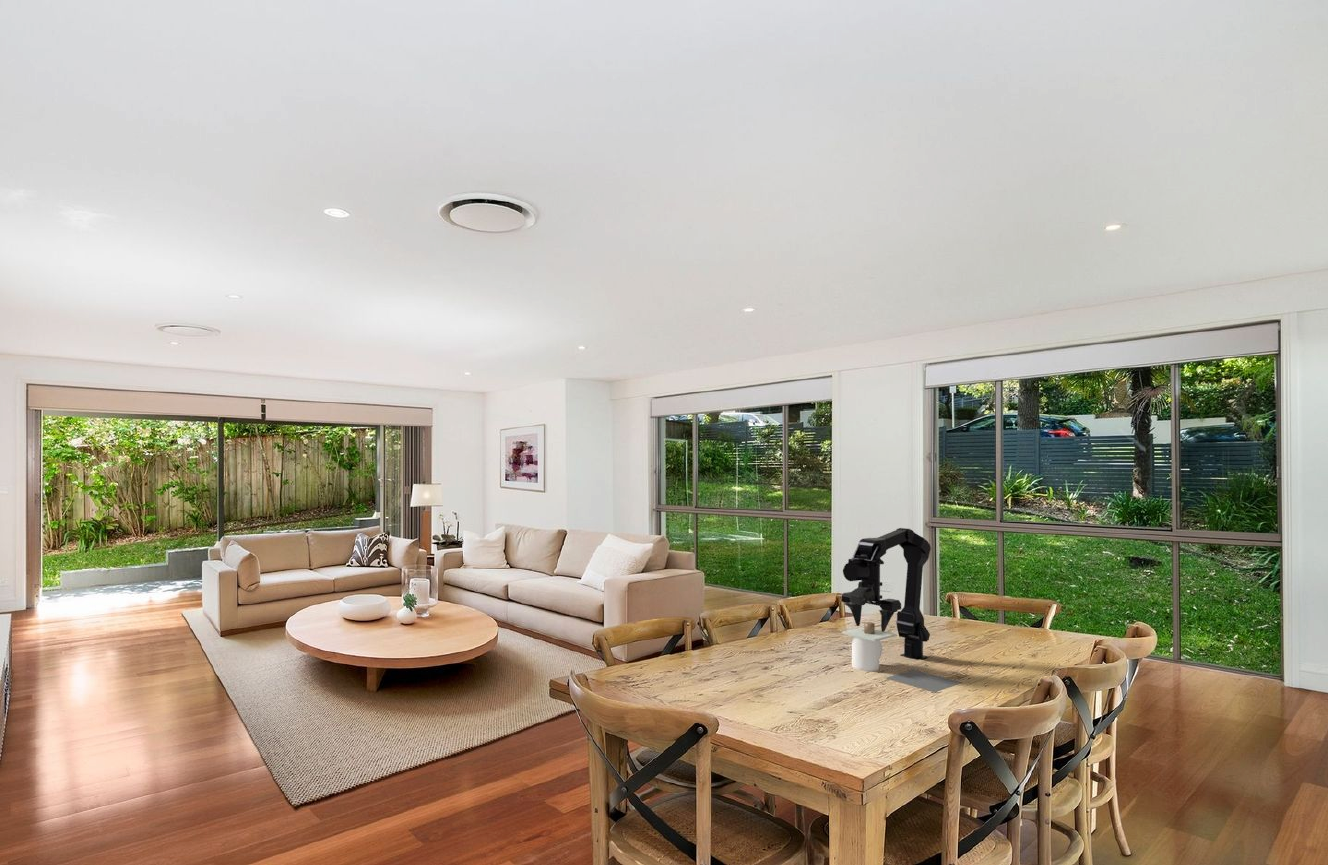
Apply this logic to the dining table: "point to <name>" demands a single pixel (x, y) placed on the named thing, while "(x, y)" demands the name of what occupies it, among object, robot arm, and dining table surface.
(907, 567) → the robot arm
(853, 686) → the dining table surface
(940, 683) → the mat
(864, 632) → the panel
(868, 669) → the mug
